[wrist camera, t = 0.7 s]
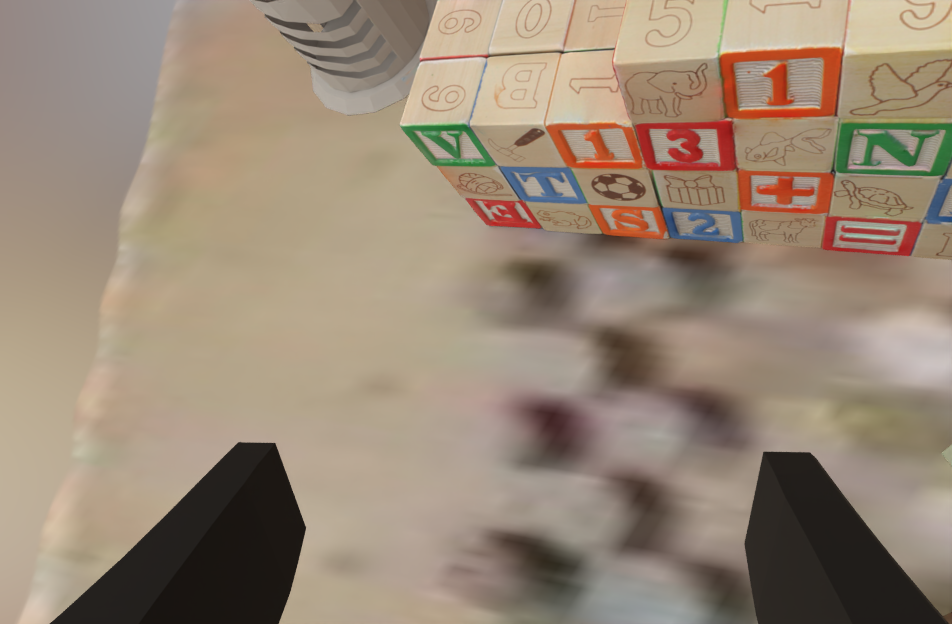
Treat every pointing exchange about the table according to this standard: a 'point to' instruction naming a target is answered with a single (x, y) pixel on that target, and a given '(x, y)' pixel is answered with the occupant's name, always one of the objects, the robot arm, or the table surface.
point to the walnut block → (948, 618)
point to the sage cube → (948, 454)
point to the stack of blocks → (696, 118)
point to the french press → (355, 47)
